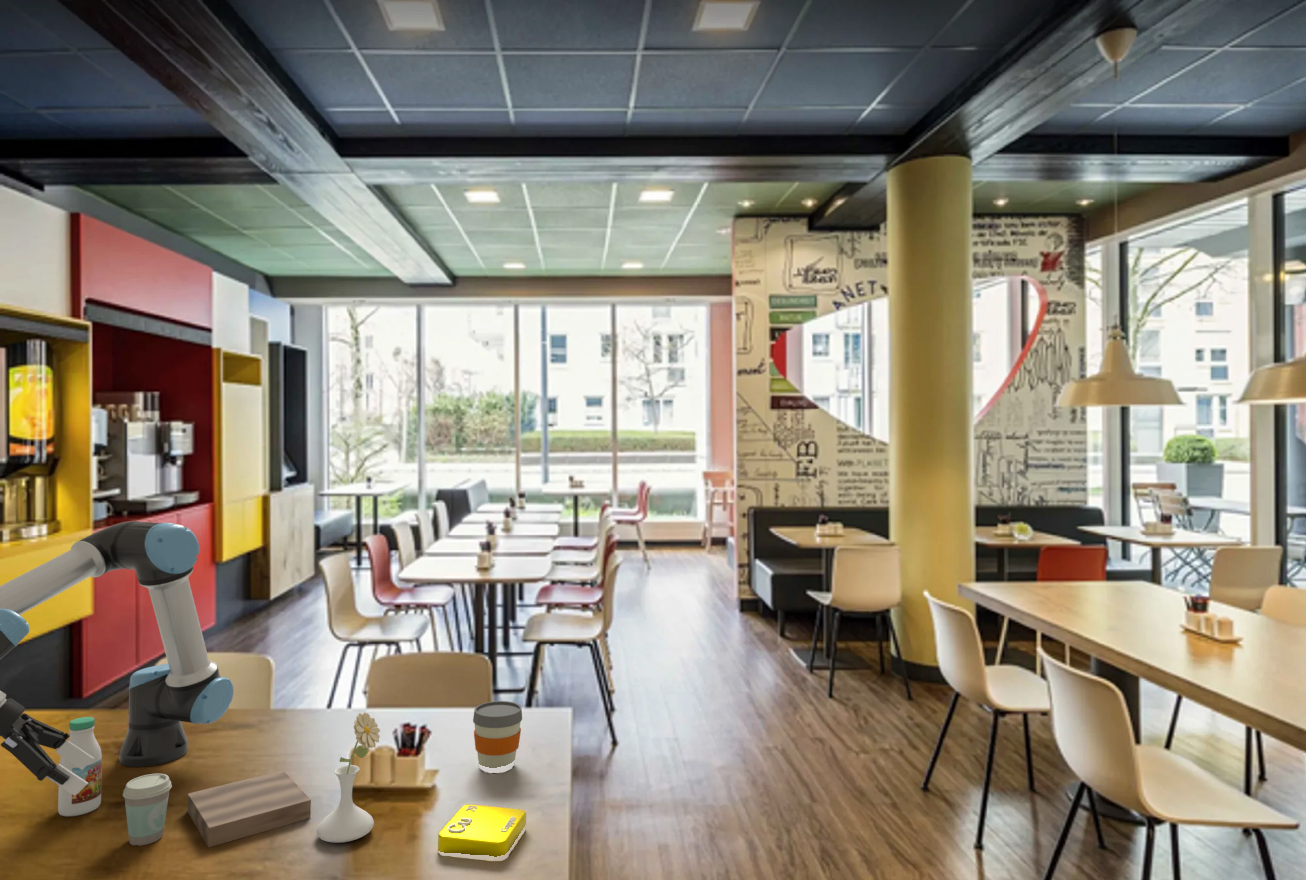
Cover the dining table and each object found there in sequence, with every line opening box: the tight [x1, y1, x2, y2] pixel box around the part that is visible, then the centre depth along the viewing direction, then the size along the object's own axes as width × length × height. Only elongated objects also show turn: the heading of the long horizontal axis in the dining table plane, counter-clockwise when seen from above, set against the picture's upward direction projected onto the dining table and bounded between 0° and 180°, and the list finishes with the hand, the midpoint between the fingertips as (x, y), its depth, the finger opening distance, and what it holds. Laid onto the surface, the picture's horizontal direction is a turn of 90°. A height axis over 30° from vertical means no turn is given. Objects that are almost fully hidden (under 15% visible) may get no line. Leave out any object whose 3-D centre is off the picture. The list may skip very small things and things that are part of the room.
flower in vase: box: [316, 711, 381, 844], centre depth 166 cm, size 13×11×25 cm
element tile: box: [437, 803, 527, 857], centre depth 164 cm, size 15×15×5 cm
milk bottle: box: [57, 716, 103, 817], centre depth 173 cm, size 8×8×20 cm
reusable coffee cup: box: [472, 700, 523, 768], centre depth 201 cm, size 13×12×15 cm
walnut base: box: [187, 769, 312, 848], centre depth 173 cm, size 20×20×4 cm
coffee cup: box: [122, 773, 173, 847], centre depth 161 cm, size 8×8×12 cm
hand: (85, 776), depth 156 cm, fingers open, 13 cm apart
